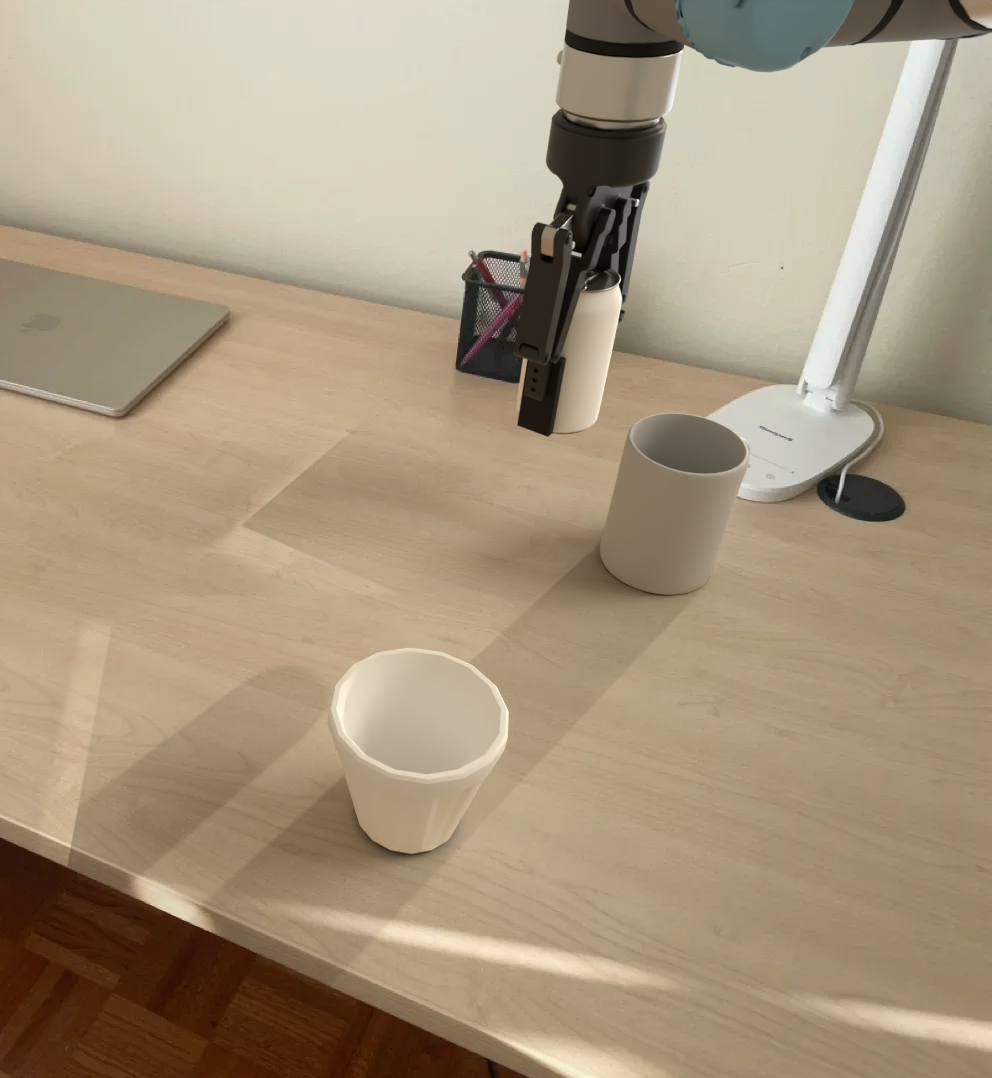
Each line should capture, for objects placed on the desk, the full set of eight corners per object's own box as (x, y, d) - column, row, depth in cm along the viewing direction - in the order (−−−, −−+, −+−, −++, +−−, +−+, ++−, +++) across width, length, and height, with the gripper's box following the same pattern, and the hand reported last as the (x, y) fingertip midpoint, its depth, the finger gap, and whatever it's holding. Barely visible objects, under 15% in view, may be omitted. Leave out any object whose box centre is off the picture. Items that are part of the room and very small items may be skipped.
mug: (659, 611, 78) (695, 490, 71) (575, 550, 84) (601, 432, 77) (764, 555, 83) (807, 437, 76) (678, 501, 89) (712, 387, 82)
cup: (502, 886, 60) (525, 782, 54) (326, 885, 60) (331, 781, 54) (476, 749, 68) (494, 645, 62) (321, 749, 68) (324, 645, 62)
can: (501, 421, 84) (522, 279, 77) (534, 387, 89) (557, 250, 81) (578, 445, 82) (607, 301, 74) (609, 409, 86) (639, 269, 78)
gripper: (621, 73, 78) (570, 352, 93) (486, 137, 67) (451, 445, 81) (721, 90, 75) (652, 378, 89) (596, 161, 63) (539, 480, 77)
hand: (556, 410), depth 85 cm, fingers closed on can, 6 cm apart
